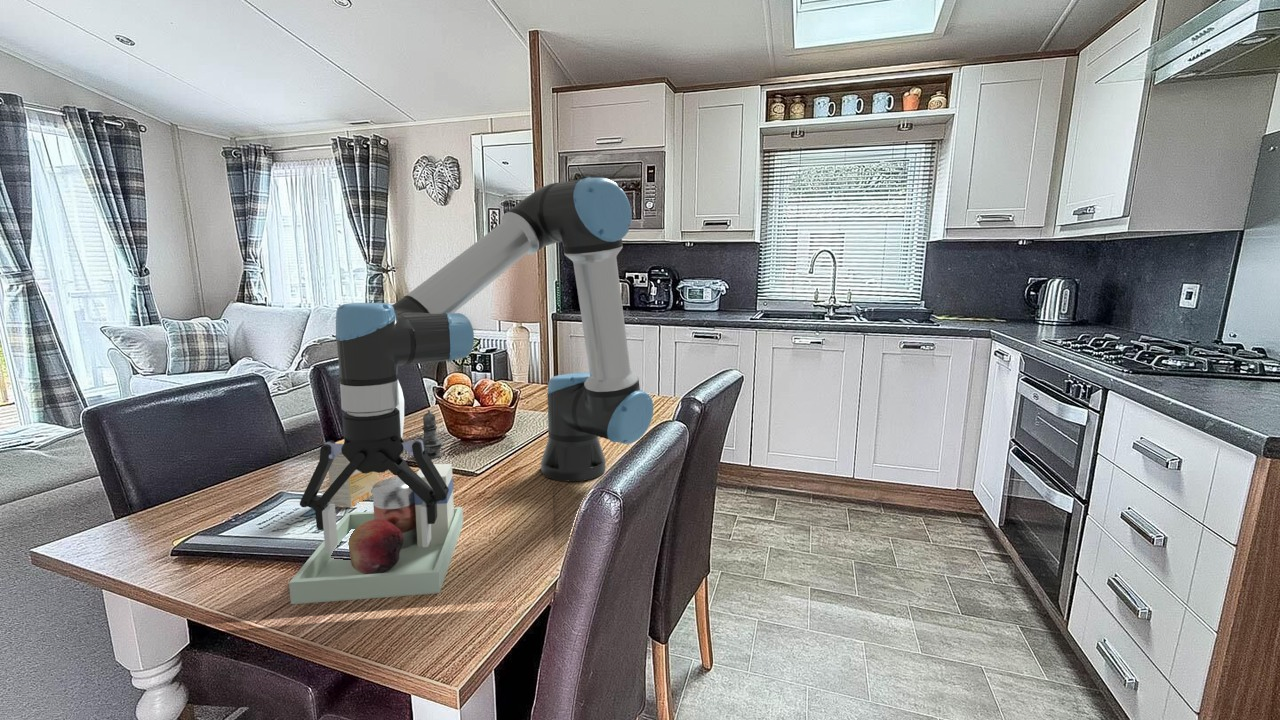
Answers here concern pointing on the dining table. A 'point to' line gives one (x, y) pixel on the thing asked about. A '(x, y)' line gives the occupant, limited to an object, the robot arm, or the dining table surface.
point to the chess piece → (431, 436)
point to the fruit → (375, 546)
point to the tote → (341, 581)
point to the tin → (396, 507)
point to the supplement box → (350, 483)
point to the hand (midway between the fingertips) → (380, 545)
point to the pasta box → (438, 508)
